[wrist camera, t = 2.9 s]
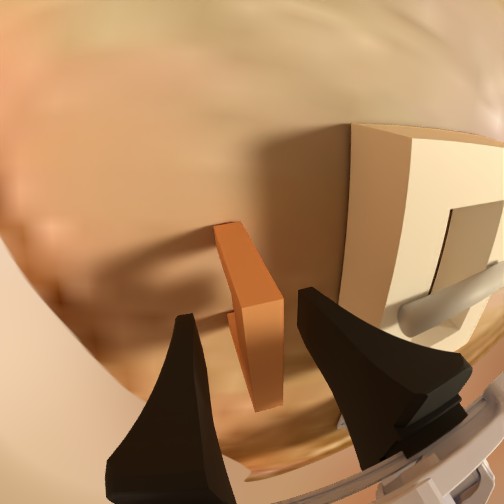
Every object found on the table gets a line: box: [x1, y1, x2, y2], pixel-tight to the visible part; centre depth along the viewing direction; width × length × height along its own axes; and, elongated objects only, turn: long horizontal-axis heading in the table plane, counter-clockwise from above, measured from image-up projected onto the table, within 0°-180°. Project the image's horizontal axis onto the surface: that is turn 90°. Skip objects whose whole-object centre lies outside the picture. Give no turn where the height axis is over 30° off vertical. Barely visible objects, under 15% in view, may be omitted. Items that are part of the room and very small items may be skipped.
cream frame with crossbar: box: [338, 123, 504, 352], centre depth 14 cm, size 16×12×6 cm
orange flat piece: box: [213, 221, 284, 412], centre depth 12 cm, size 6×1×6 cm, turn 4°
